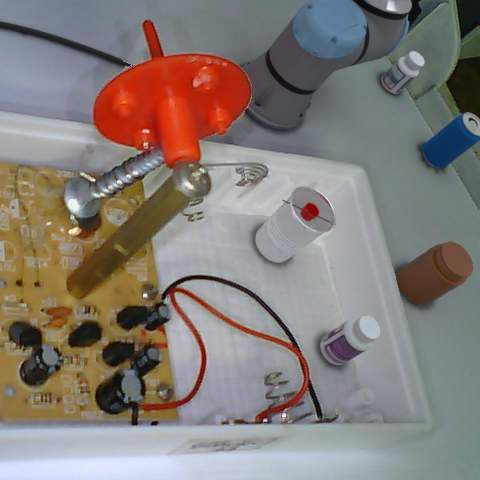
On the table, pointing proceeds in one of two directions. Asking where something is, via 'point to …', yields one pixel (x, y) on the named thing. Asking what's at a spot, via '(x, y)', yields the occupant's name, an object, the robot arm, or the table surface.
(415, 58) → the pill bottle
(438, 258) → the jar
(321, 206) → the striped cup with float
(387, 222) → the table surface
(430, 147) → the beverage can
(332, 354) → the pill bottle
